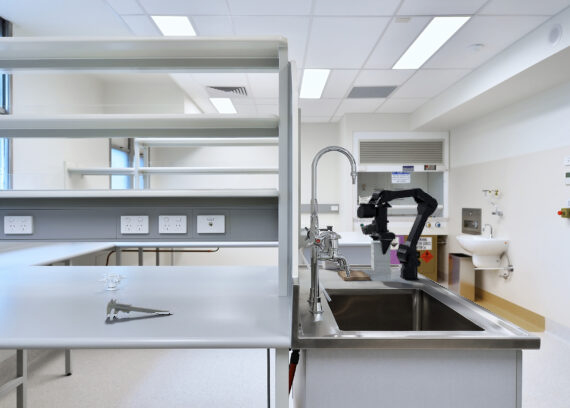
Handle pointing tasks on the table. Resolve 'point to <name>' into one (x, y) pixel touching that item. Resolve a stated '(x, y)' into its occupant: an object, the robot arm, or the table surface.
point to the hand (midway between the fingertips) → (380, 252)
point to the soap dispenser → (326, 263)
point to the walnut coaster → (354, 275)
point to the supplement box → (379, 257)
